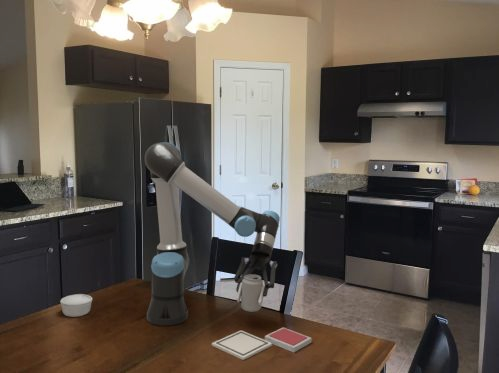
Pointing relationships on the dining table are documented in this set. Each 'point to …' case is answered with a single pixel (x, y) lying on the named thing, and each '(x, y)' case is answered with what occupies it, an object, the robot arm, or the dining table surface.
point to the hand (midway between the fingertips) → (248, 302)
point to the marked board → (242, 344)
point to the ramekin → (76, 305)
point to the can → (251, 292)
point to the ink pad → (288, 339)
